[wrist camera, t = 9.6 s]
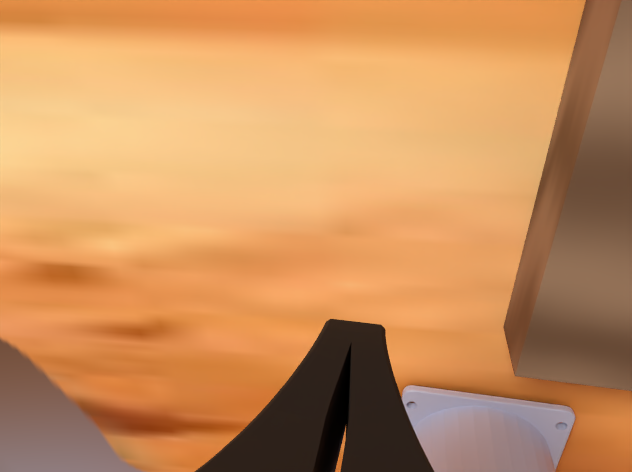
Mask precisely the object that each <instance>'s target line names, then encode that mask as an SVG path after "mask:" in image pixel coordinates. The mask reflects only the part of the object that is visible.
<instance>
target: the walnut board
mask: <svg viewBox="0 0 632 472" xmlns="http://www.w3.org/2000/svg"><path fill="white" fill-rule="evenodd" d="M504 331H505V335H506V340H507V344H508V348H509V353H510V357H511V361H512V366H513V370H514V374H515V376H519V377H527V378H535V379H542V380H550V381H558V382H566V383H573V384H581V385H589V386H597V387H605V388H612V389H620V390H628V391H632V0H586V3H585V7H584V11H583V15H582V19H581V23H580V27H579V31H578V34H577V38H576V42H575V46H574V50H573V54H572V58H571V62H570V66H569V70H568V74H567V78H566V82H565V86H564V90H563V94H562V98H561V102H560V106H559V110H558V114H557V118H556V122H555V126H554V130H553V133H552V137H551V141H550V145H549V149H548V153H547V157H546V161H545V165H544V169H543V173H542V177H541V181H540V185H539V189H538V193H537V197H536V201H535V205H534V209H533V213H532V217H531V221H530V225H529V229H528V233H527V236H526V240H525V244H524V248H523V252H522V256H521V260H520V264H519V268H518V272H517V276H516V280H515V284H514V288H513V292H512V296H511V300H510V304H509V308H508V312H507V316H506V320H505V324H504Z"/></svg>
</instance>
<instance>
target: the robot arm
mask: <svg viewBox="0 0 632 472" xmlns="http://www.w3.org/2000/svg"><path fill="white" fill-rule="evenodd" d="M410 402H415V403H410ZM574 421H575V414H574V411H573V410H572V409H571V408H570V407H568V406H563V405H556V404H548V403H541V402H533V401H526V400H519V399H511V398H504V397H496V396H489V395H481V394H474V393H466V392H459V391H452V390H444V389H437V388H429V387H422V386H414V385H410V386H407V387H405V388H404V390H403V393H402V399H401V396H400V393H399V390H398V387H397V384H396V381H395V378H394V375H393V371H392V367H391V364H390V359H389V355H388V350H387V345H386V337H385V329H384V327H383V326H382V325H378V324H370V323H361V322H353V321H344V320H336V319H330V320H328V321H327V322H326V323H325V325H324V327H323V329H322V331H321V333H320V334H319V336H318V338H317V340H316V341H315V343H314V344H313V346H312V348H311V349H310V351H309V352H308V354H307V355H306V357H305V358H304V359H303V361H302V362H301V363H300V365H299V366H298V368H297V369H296V370H295V372H294V373H293V374H292V376H291V377H290V378H289V380H288V381H287V382H286V383H285V385H284V386H283V387H282V388H281V389H280V391H279V392H278V393H277V394H276V395H275V396H274V398H273V399H272V400H271V401H270V402H269V404H268V405H267V406H266V407H265V408H264V409H263V410H262V411H261V412H260V413H259V414H258V415H257V417H256V418H255V419H254V420H253V421H252V422H251V423H250V424H249V425H248V426H247V427H246V428H245V429H244V430H243V431H242V432H241V433H240V434H238V435H237V436H236V437H235V438H234V439H233V440H232V441H231V442H230V443H229V444H227V445H226V446H225V447H224V448H223V449H222V450H221V451H220V452H219V453H217V454H216V455H215V456H214V457H213V458H212V459H210V460H209V461H208V462H207V463H205V464H204V465H203V466H202V467H200V468H199V469H198V470H196V471H195V472H335V469H336V465H337V461H338V457H339V452H340V448H341V444H342V440H343V435H344V431H345V427H346V442H345V448H344V454H343V460H342V466H341V472H555V470H556V468H557V465H558V463H559V460H560V457H561V455H562V452H563V450H564V447H565V444H566V442H567V439H568V437H569V434H570V432H571V429H572V426H573V424H574ZM560 422H563V423H560Z"/></svg>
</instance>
